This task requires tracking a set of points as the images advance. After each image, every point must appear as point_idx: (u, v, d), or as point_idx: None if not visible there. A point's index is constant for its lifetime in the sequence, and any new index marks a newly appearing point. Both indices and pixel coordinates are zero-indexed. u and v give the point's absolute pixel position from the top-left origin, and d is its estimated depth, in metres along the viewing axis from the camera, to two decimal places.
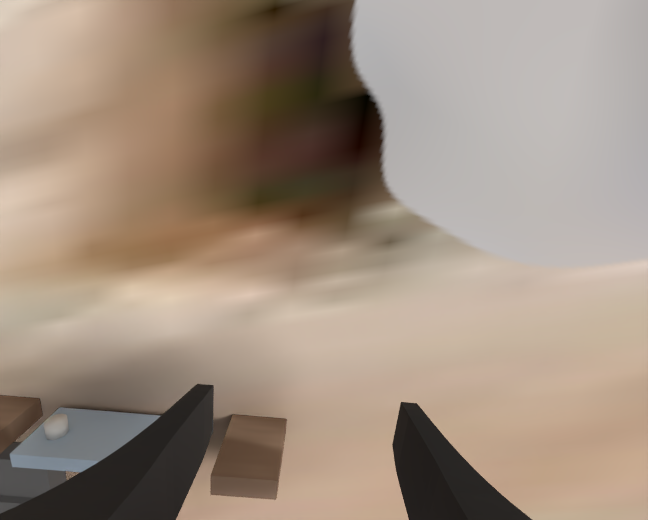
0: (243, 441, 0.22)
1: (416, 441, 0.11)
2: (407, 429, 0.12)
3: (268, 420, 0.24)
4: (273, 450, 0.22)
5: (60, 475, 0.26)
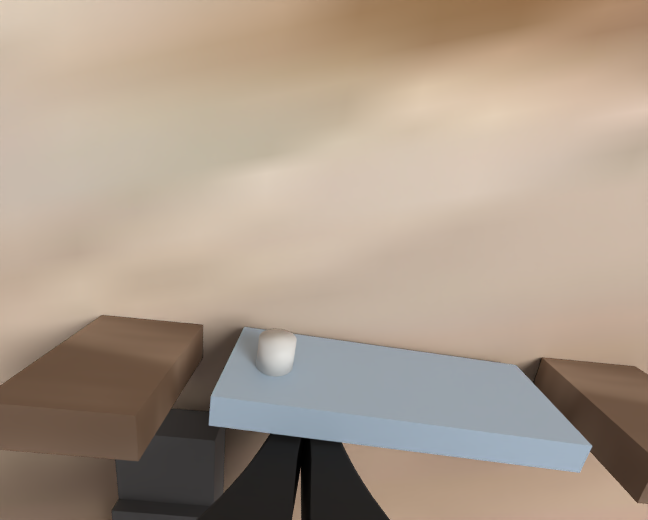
0: (622, 399, 0.12)
1: None
2: None
3: (610, 367, 0.14)
4: None
5: (221, 465, 0.15)
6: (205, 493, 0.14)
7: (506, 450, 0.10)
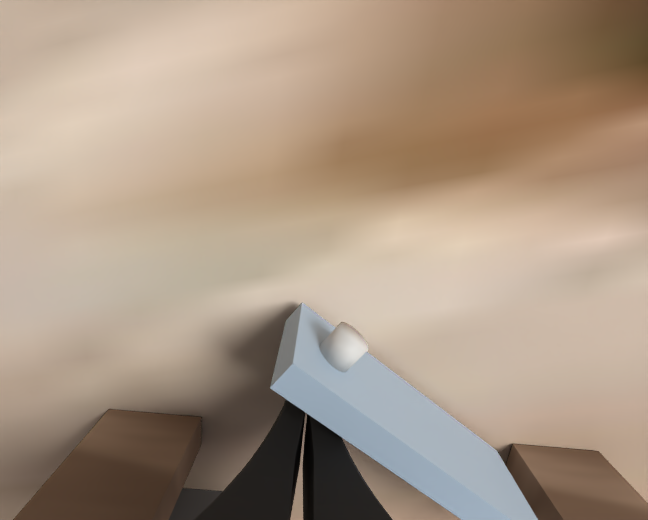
0: (580, 496, 0.13)
1: (309, 432, 0.11)
2: (308, 420, 0.11)
3: (575, 454, 0.15)
4: (644, 514, 0.12)
5: None
6: None
7: None
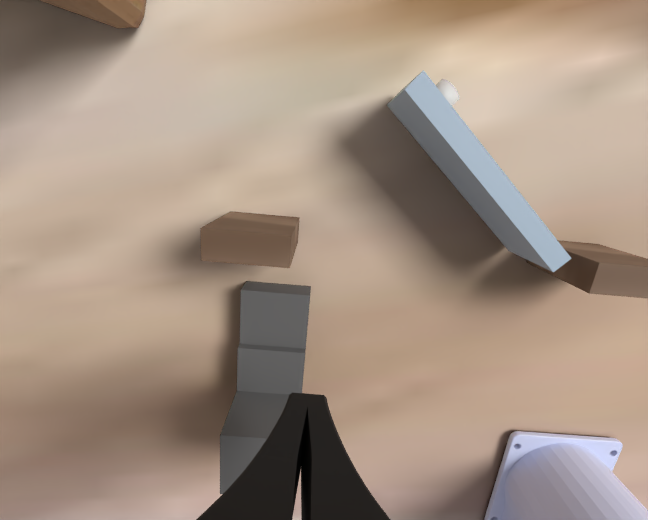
0: (585, 250, 0.18)
1: (307, 432, 0.11)
2: (306, 420, 0.11)
3: (580, 243, 0.20)
4: (631, 256, 0.17)
5: (307, 324, 0.21)
6: (300, 338, 0.20)
7: (532, 230, 0.15)
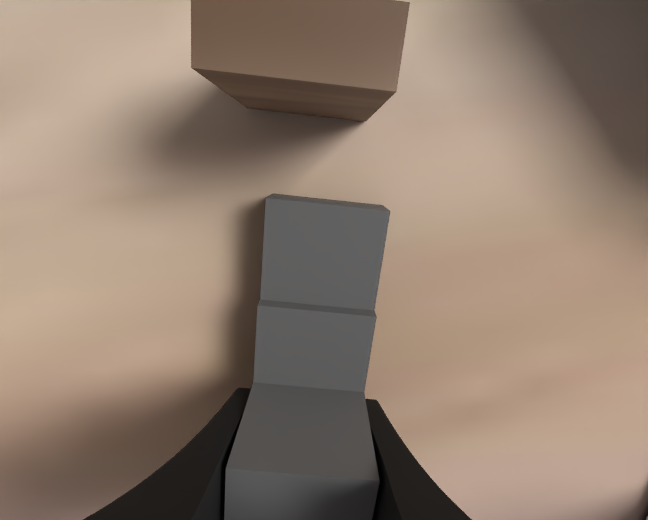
0: None
1: None
2: None
3: None
4: None
5: None
6: (366, 291, 0.12)
7: None
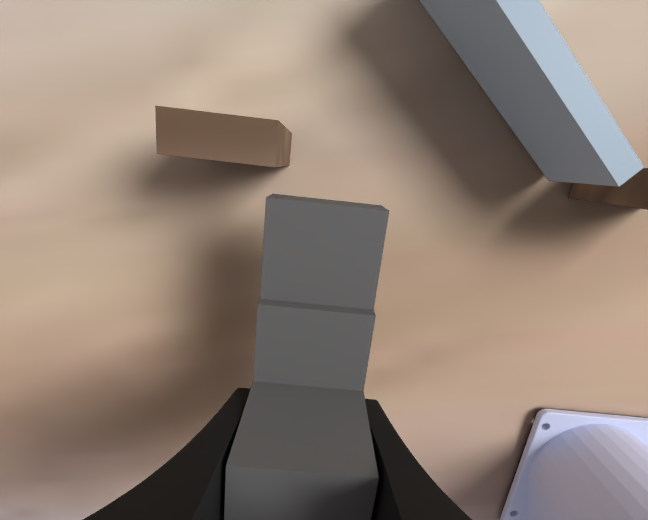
0: None
1: None
2: None
3: None
4: None
5: None
6: (366, 290, 0.12)
7: (596, 126, 0.12)
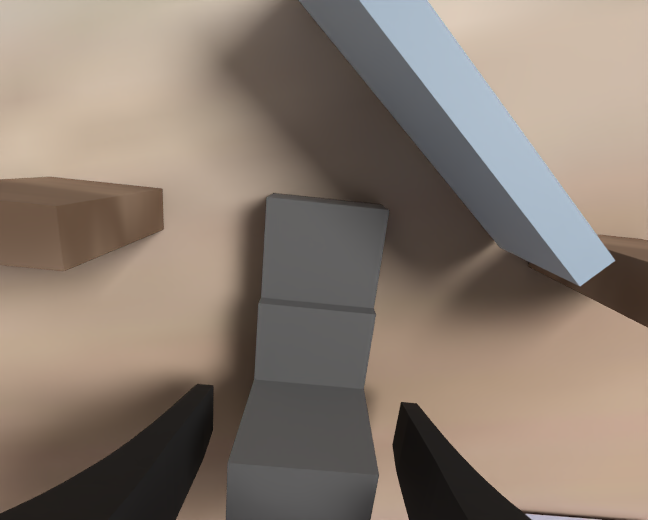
0: (630, 247, 0.10)
1: (416, 441, 0.11)
2: (407, 429, 0.12)
3: (615, 237, 0.12)
4: None
5: None
6: (366, 289, 0.12)
7: (542, 204, 0.08)
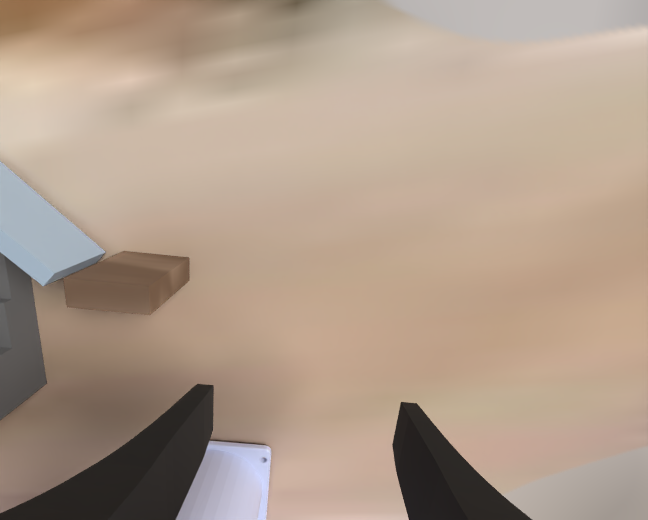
0: (124, 264, 0.18)
1: (416, 441, 0.11)
2: (407, 429, 0.12)
3: (165, 256, 0.20)
4: (158, 271, 0.18)
5: (23, 276, 0.21)
6: (3, 288, 0.20)
7: (5, 246, 0.16)
